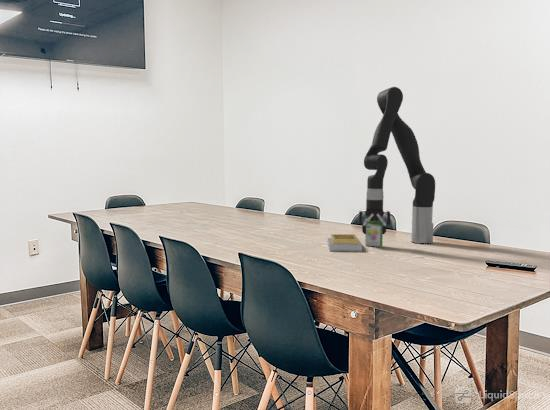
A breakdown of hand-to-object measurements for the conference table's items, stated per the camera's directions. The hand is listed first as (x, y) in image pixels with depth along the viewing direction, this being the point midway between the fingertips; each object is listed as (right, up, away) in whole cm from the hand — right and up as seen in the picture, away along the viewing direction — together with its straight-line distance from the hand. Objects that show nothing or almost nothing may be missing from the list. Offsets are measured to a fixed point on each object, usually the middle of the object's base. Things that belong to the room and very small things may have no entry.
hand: (374, 233), depth 245 cm
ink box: (0, -6, +1) cm, 6 cm away
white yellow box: (-14, -6, -4) cm, 16 cm away
